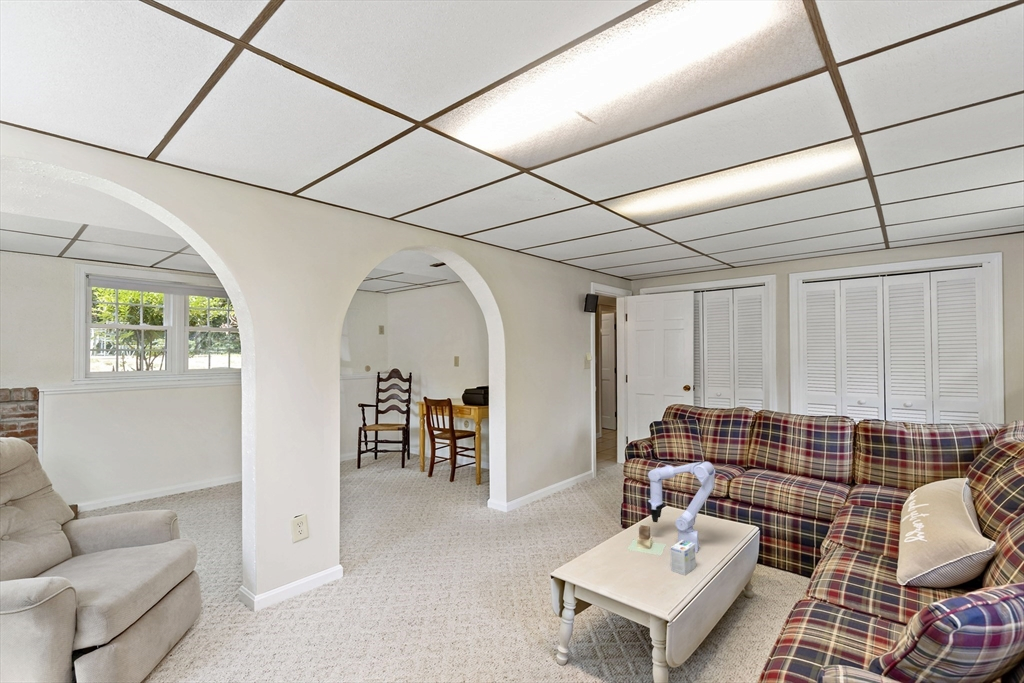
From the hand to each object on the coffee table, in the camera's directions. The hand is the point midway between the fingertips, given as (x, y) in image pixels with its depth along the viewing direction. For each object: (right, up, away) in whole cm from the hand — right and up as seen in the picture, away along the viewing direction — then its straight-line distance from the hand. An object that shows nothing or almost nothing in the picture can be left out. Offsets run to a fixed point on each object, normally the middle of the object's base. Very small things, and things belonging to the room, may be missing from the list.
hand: (656, 519), depth 242 cm
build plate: (-8, -10, -11) cm, 17 cm away
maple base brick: (-9, -9, -9) cm, 16 cm away
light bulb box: (+2, -10, -33) cm, 34 cm away
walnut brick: (-9, -5, -9) cm, 14 cm away
